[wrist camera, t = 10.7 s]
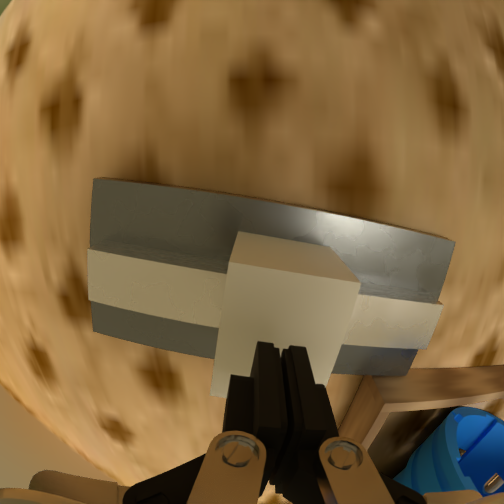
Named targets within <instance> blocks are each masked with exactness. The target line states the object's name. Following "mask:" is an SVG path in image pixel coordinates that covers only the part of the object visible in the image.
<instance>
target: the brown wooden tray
mask: <svg viewBox="0 0 504 504" xmlns="http://www.w3.org/2000/svg"><path fill="white" fill-rule="evenodd" d="M500 398H504V365H496V366H484V367H468V368H443V369H409V371H408V373H407V375H406V376H380V375H364V377H363V380H362V382H361V384H360V386H359V388H358V391H357V393H356V395H355V397H354V399H353V401H352V404H351V406H350V408H349V410H348V412H347V414H346V416H345V418H344V420H343V422H342V424H341V426H340V428H339V430H338V433H339V437H347V438H351V439H353V440H355V441H357V442H359V443H360V444H361V445H363V447H364V448H365V449H366V451H367V449H368V448H369V446H370V445H371V443H372V442H373V440H374V439H375V437H376V435H377V434H378V432H379V431H380V429H381V427H382V426H383V424H384V422H385V421H386V419H387V417H388V415H389V414H390V412H400V411H415V410H427V409H436V408H445V407H453V406H460V405H467V404H473V403H479V402H485V401H490V400H495V399H500ZM496 474H497V473H496ZM496 474H495V475H496ZM495 475H494V476H495ZM494 476H492V477H491V478H490V479H489V480H488V481H487V482H486V483H485V485H486V484H487V483H488V482H489V481H490V480H491V479H492V478H493V477H494Z"/></svg>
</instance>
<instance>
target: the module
mask: <svg viewBox="0 0 504 504" xmlns="http://www.w3.org/2000/svg"><path fill="white" fill-rule="evenodd" d="M360 286H361V282H360V281H359V280H358V279H357V278H356V276H355V275H354V274H353V273H352V272H351V271H350V269H349V268H348V267H347V266H346V265H345V264H344V262H343V261H342V260H341V259H340V258H339V257H338V255H337V254H336V253H335V252H334V251H333V250H332V249H331V247H327V246H321V245H316V244H310V243H304V242H299V241H293V240H287V239H282V238H276V237H270V236H264V235H258V234H253V233H247V232H241V231H238V234H237V237H236V240H235V243H234V247H233V250H232V253H231V256H230V260H229V264H228V271H227V277H226V284H225V291H224V297H223V304H222V311H221V317H220V324H219V331H218V338H217V346H216V353H215V360H214V368H213V375H212V383H211V390H210V395H211V396H216V397H222V398H227V393H228V387H229V381H230V375H231V374H233V375H240V376H247V377H250V373H251V368H252V364H253V359H254V354H255V349H256V345H257V341H262V342H270V343H274V347H276V348H279V350H280V357H281V353H282V350H283V348H285V349H288V347H289V346H290V345H294V346H303V347H306V349H307V353H308V357H309V361H310V364H311V368H312V372H313V376H314V380H315V384H323V385H325V388H326V385H327V383H328V380H329V378H330V375H331V372H332V370H333V367H334V364H335V362H336V359H337V356H338V353H339V351H340V348H341V345H342V342H343V339H344V336H345V333H346V330H347V327H348V324H349V321H350V318H351V315H352V312H353V309H354V306H355V302H356V299H357V296H358V293H359V289H360Z"/></svg>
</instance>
